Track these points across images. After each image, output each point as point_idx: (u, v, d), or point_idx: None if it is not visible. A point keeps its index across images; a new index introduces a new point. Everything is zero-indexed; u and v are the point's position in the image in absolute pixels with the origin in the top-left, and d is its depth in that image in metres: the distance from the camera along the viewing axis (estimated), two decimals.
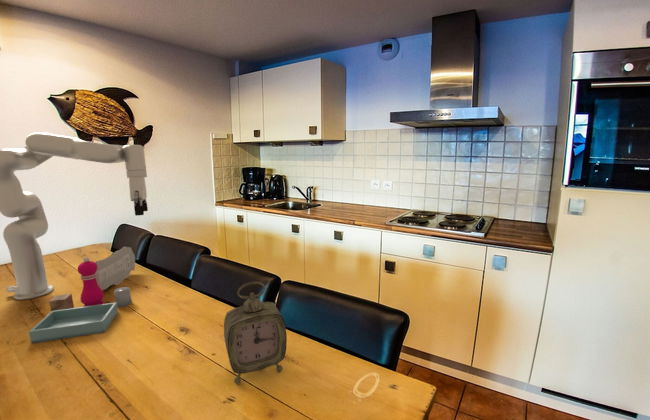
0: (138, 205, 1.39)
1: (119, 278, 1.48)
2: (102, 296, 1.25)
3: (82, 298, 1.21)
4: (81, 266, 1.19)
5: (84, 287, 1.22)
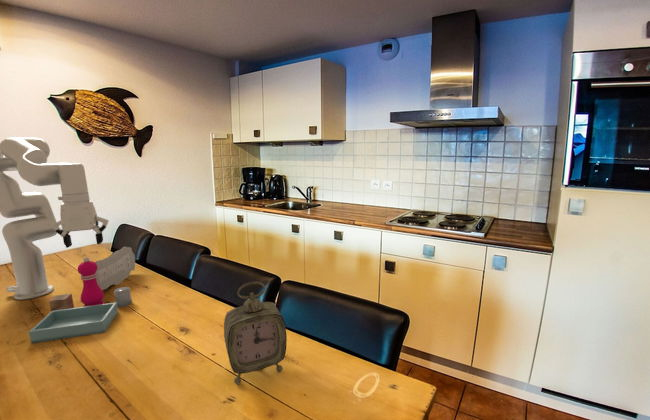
0: (102, 231, 1.21)
1: (119, 278, 1.48)
2: (102, 296, 1.25)
3: (82, 298, 1.21)
4: (81, 266, 1.19)
5: (84, 287, 1.22)
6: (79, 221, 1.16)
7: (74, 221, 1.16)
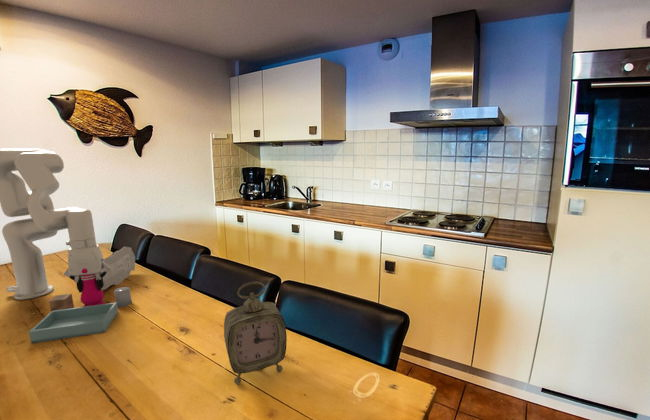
0: None
1: (119, 278, 1.48)
2: (102, 296, 1.25)
3: (82, 298, 1.21)
4: None
5: (84, 287, 1.22)
6: (86, 266, 1.19)
7: (81, 266, 1.19)
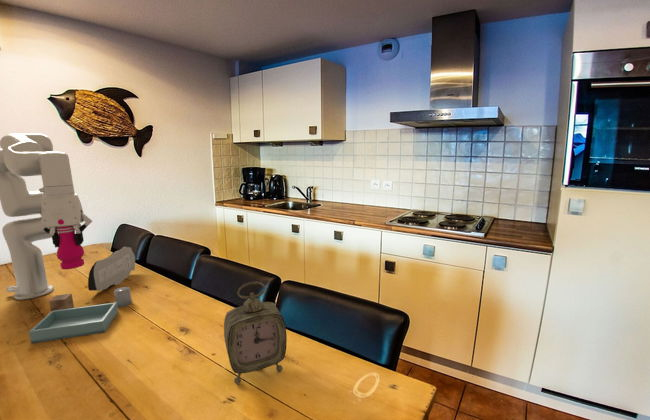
0: (82, 231, 1.10)
1: (119, 278, 1.48)
2: (82, 252, 1.11)
3: (58, 253, 1.07)
4: None
5: (61, 241, 1.08)
6: (62, 216, 1.05)
7: (57, 216, 1.05)
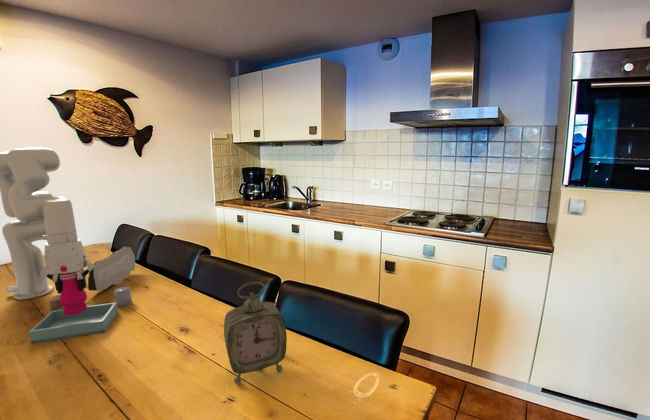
0: None
1: (119, 278, 1.48)
2: (85, 297, 1.10)
3: (61, 300, 1.07)
4: None
5: (63, 287, 1.07)
6: (65, 263, 1.05)
7: (60, 263, 1.05)
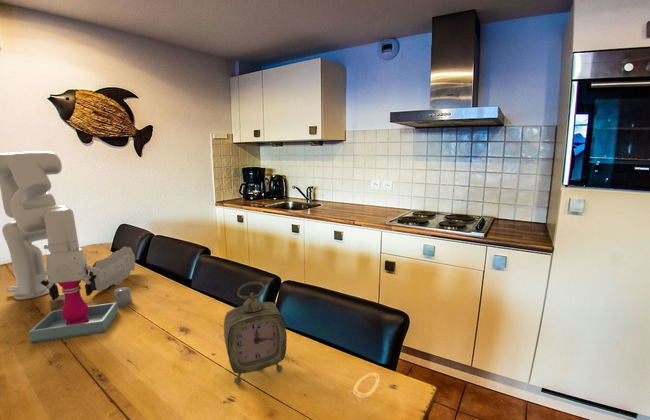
0: None
1: (119, 278, 1.48)
2: (87, 311, 1.11)
3: (63, 314, 1.08)
4: None
5: (66, 301, 1.08)
6: (67, 272, 1.06)
7: (61, 272, 1.05)
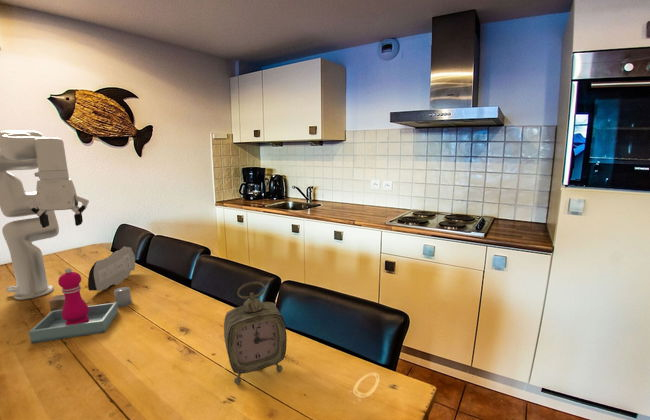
0: None
1: (119, 278, 1.48)
2: (87, 311, 1.11)
3: (63, 314, 1.08)
4: (62, 278, 1.06)
5: (66, 301, 1.08)
6: (56, 200, 1.09)
7: (51, 200, 1.08)
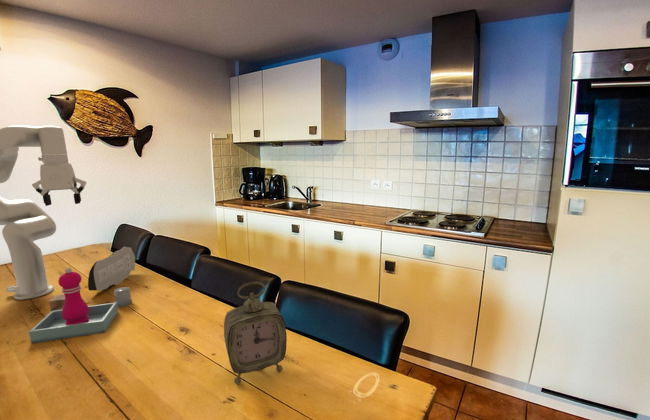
0: (80, 192, 1.30)
1: (119, 278, 1.48)
2: (87, 311, 1.12)
3: (63, 314, 1.08)
4: (62, 278, 1.06)
5: (66, 301, 1.08)
6: (58, 181, 1.24)
7: (53, 180, 1.24)
